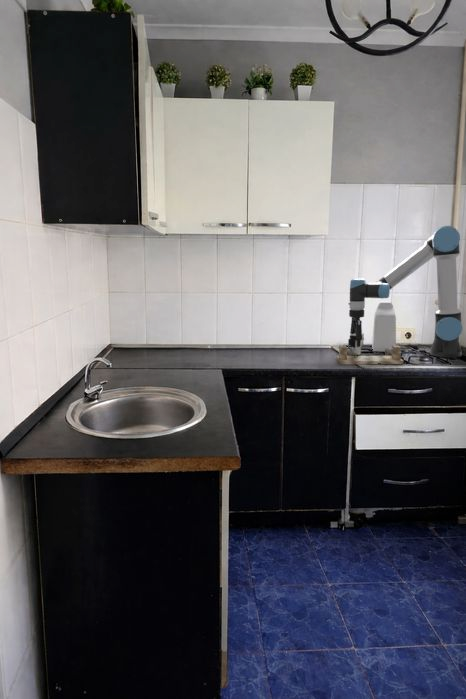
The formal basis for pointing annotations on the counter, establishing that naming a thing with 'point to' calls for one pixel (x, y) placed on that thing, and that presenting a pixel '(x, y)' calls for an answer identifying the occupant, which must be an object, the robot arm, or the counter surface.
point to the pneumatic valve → (352, 341)
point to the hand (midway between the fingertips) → (355, 350)
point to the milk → (384, 327)
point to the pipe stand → (370, 359)
